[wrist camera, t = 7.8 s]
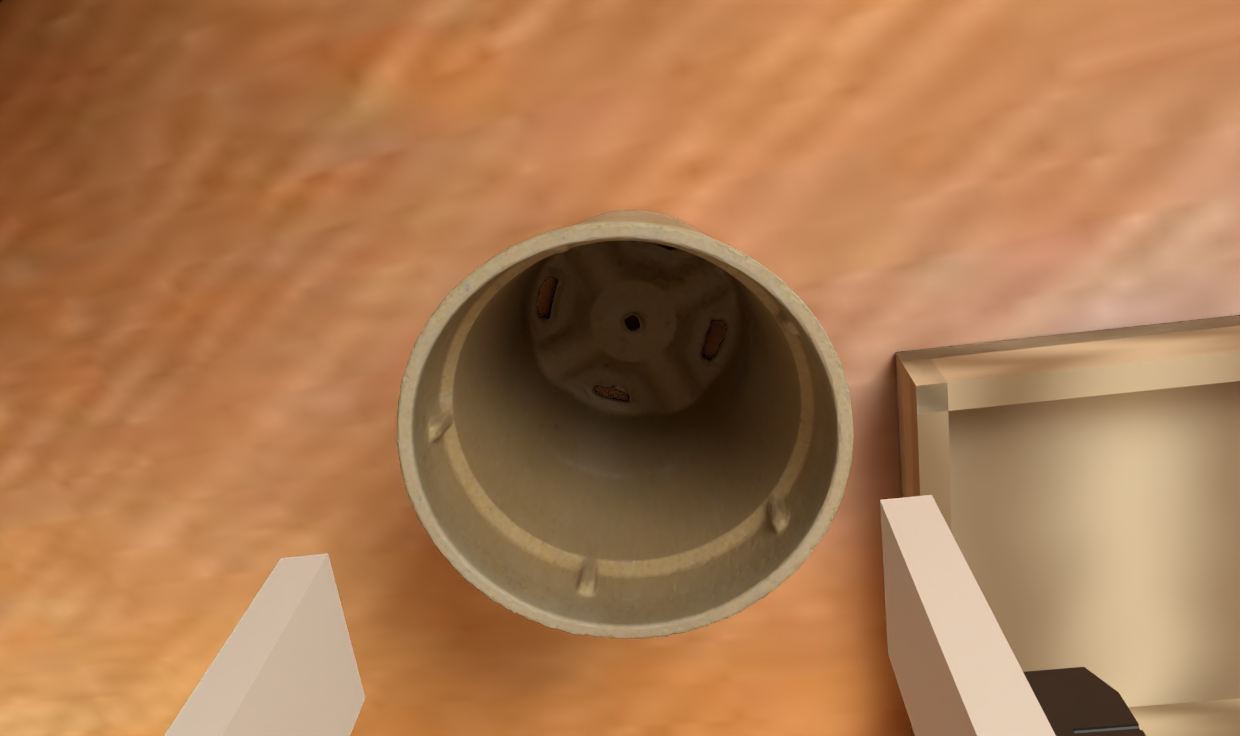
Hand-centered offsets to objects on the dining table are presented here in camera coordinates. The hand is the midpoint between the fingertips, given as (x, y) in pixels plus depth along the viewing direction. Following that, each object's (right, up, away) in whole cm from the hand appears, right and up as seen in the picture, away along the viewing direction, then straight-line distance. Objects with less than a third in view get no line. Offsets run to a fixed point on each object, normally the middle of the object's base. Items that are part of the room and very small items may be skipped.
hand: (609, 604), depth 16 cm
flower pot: (+1, +5, +14) cm, 15 cm away
